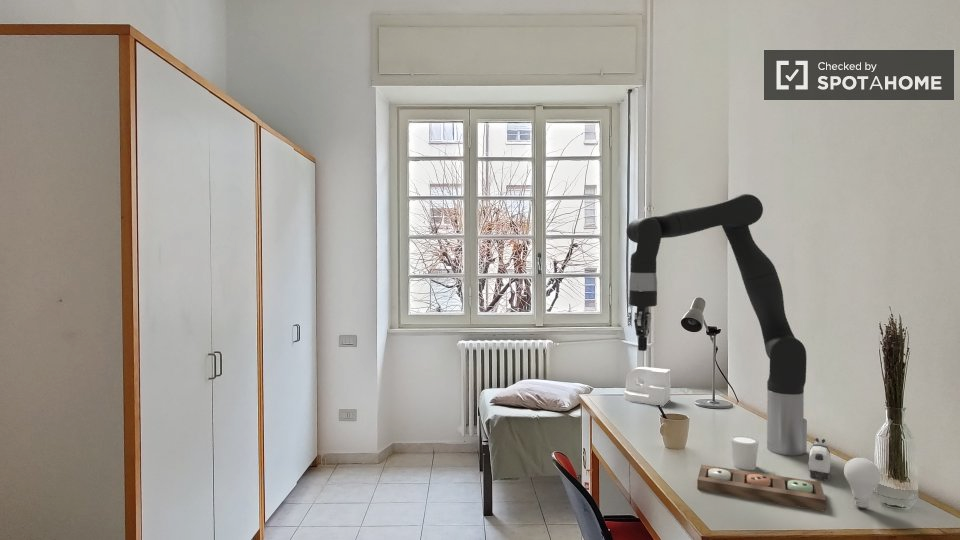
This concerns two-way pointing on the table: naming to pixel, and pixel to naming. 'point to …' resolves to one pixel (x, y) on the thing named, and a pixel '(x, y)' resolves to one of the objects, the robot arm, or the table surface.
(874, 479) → the light bulb
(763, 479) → the button three
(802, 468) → the table surface
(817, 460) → the giant panda
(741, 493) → the button board
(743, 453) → the white tapered cylinder
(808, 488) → the button two
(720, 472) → the button one
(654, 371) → the tape dispenser
